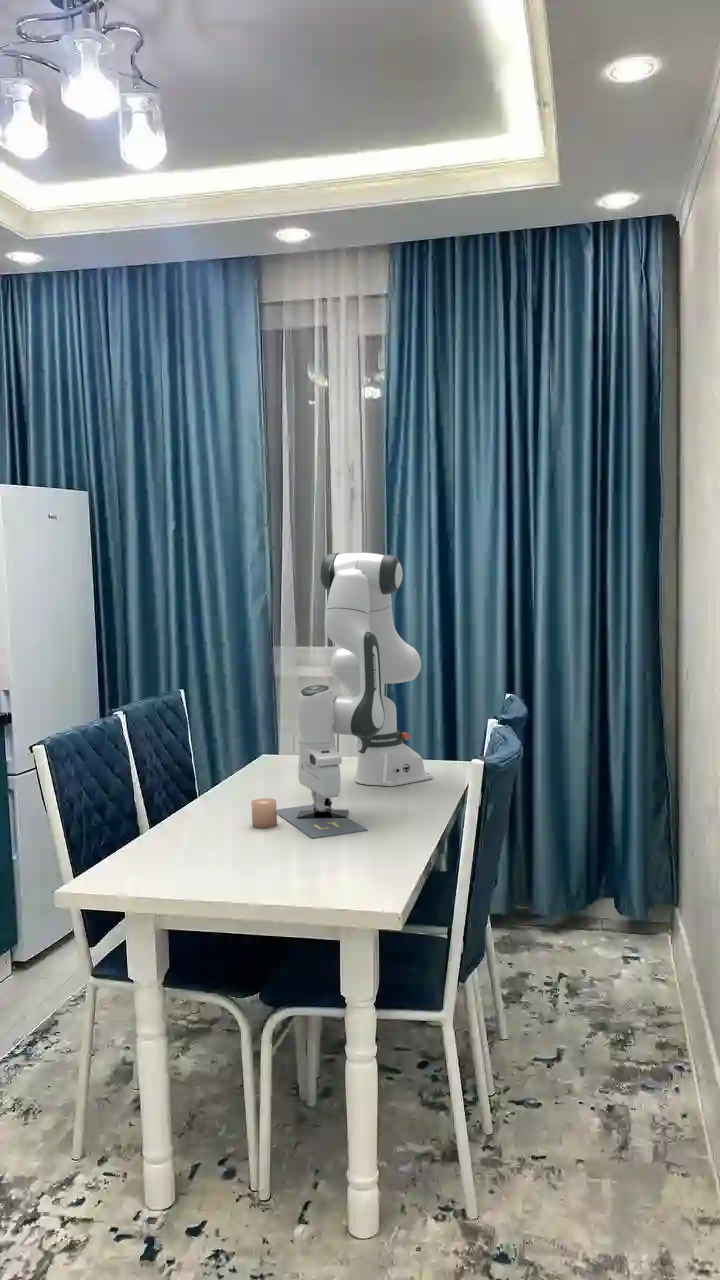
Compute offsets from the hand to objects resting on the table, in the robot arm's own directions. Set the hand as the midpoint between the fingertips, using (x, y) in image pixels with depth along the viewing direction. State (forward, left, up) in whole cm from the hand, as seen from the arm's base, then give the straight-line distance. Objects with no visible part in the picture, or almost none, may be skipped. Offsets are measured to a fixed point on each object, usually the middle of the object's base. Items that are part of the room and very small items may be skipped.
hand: (319, 808), depth 245 cm
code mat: (0, -2, -3) cm, 4 cm away
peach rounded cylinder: (+13, -5, -4) cm, 14 cm away
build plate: (-3, -6, -3) cm, 7 cm away
